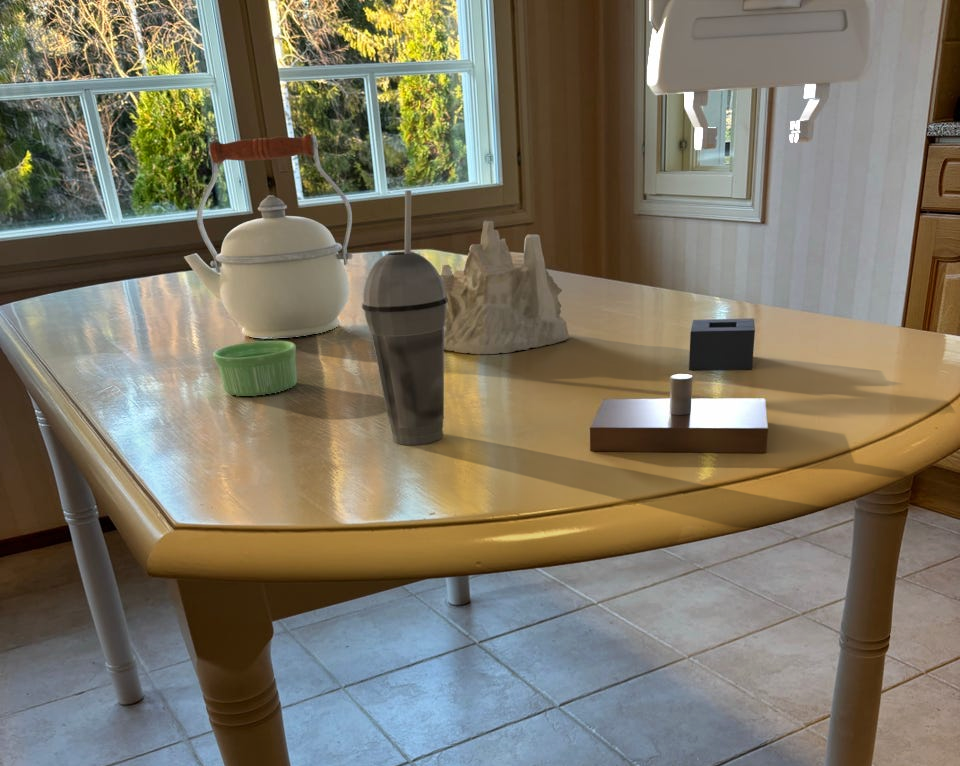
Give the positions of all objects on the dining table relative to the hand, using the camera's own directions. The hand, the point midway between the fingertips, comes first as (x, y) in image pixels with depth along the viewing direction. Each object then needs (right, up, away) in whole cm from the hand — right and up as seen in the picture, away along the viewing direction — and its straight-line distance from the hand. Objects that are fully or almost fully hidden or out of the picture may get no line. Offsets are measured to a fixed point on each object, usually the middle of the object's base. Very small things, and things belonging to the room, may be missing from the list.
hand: (753, 145), depth 87 cm
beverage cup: (-31, -28, -3) cm, 42 cm away
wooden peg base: (-9, -29, -8) cm, 31 cm away
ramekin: (-50, -18, +18) cm, 56 cm away
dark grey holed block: (+1, -16, +14) cm, 21 cm away
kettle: (-55, -1, +49) cm, 74 cm away
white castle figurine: (-23, -8, +33) cm, 41 cm away
